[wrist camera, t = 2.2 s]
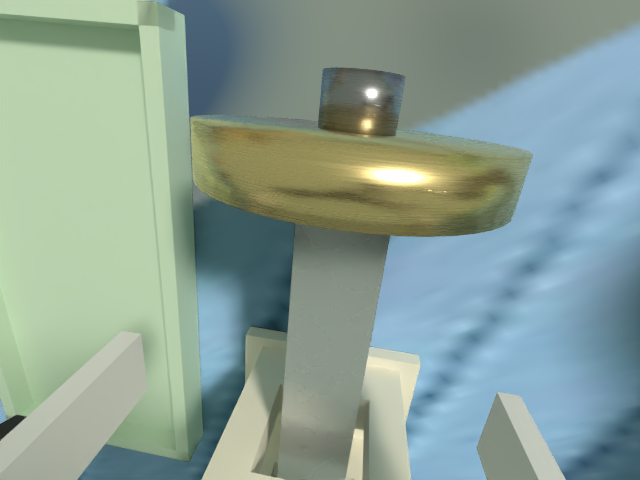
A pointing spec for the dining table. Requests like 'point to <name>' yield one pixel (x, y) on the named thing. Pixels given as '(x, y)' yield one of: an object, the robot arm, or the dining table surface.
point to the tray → (98, 208)
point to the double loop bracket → (266, 411)
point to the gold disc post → (346, 231)
